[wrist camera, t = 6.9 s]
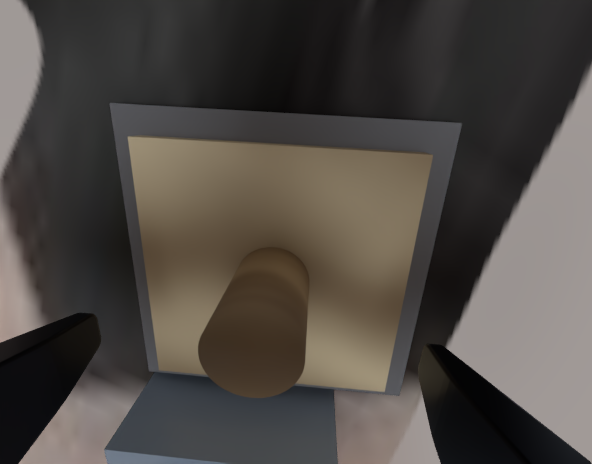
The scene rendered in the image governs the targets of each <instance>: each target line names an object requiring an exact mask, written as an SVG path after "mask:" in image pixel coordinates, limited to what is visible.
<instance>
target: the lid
mask: <svg viewBox="0 0 592 464" xmlns="http://www.w3.org/2000/svg"><path fill="white" fill-rule="evenodd" d="M128 143H129V151H130V158H131V166H132V173H133V181H134V188H135V195H136V203H137V210H138V218H139V225H140V233H141V240H142V248H143V255H144V262H145V270H146V277H147V285H148V292H149V300H150V307H151V315H152V322H153V329H154V337H155V344H156V352H157V359H158V367H159V370H162V371H172V372H183V373H193V374H203V375H208V376H209V378H210V379H211V380H212V381H213V382H215V383H216V384H217V385H218V386H220V387H221V388H223V389H225V390H227V391H229V392H231V393H233V394H236V395H239V396H243V397H249V398H266V397H271V396H275V395H278V394H281V393H283V392H285V391H287V390H288V389H290V388H291V387H292V386H293V385H294V384H295V383H296V384H307V385H317V386H327V387H338V388H348V389H358V390H369V391H379V392H385V388H386V383H387V378H388V373H389V368H390V363H391V358H392V354H393V349H394V344H395V339H396V334H397V329H398V324H399V319H400V315H401V310H402V305H403V300H404V295H405V290H406V285H407V280H408V275H409V271H410V266H411V261H412V256H413V251H414V246H415V241H416V236H417V232H418V227H419V222H420V217H421V212H422V207H423V202H424V197H425V193H426V188H427V183H428V178H429V173H430V168H431V163H432V158H433V155H432V154H428V153H425V152H409V151H392V150H375V149H359V148H342V147H325V146H309V145H292V144H275V143H259V142H242V141H225V140H209V139H192V138H175V137H159V136H142V135H140V136H128Z"/></svg>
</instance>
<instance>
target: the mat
mask: <svg viewBox="0 0 592 464" xmlns="http://www.w3.org/2000/svg"><path fill="white" fill-rule="evenodd" d="M110 110H111V117H112V123H113V130H114V137H115V144H116V151H117V157H118V164H119V171H120V178H121V185H122V191H123V198H124V205H125V212H126V218H127V225H128V232H129V239H130V246H131V252H132V259H133V266H134V273H135V280H136V286H137V293H138V300H139V307H140V313H141V320H142V327H143V334H144V341H145V347H146V354H147V361H148V368H149V371H152V372H162V373H172V374H182V375H192V376H203V377H209V376H208V375H203V374H193V373H183V372H172V371H162V370H159V367H158V359H157V352H156V344H155V337H154V329H153V322H152V315H151V307H150V300H149V292H148V285H147V277H146V270H145V262H144V255H143V248H142V240H141V233H140V225H139V218H138V210H137V203H136V195H135V188H134V181H133V173H132V166H131V158H130V151H129V143H128V136H140V135H142V136H159V137H175V138H192V139H209V140H225V141H242V142H259V143H275V144H292V145H309V146H325V147H342V148H359V149H375V150H392V151H409V152H425V153H428V154H432V155H433V158H432V163H431V168H430V173H429V178H428V183H427V188H426V193H425V197H424V202H423V207H422V212H421V217H420V222H419V227H418V232H417V236H416V241H415V246H414V251H413V256H412V261H411V266H410V271H409V275H408V280H407V285H406V290H405V295H404V300H403V305H402V310H401V315H400V319H399V324H398V329H397V334H396V339H395V344H394V349H393V354H392V358H391V363H390V368H389V373H388V378H387V383H386V388H385V392H379V391H369V390H358V389H348V388H338V387H327V386H317V385H307V384H296V383H295V384H294V386H304V387H315V388H325V389H335V390H345V391H355V392H366V393H376V394H386V395H396V396H399V395H400V391H401V386H402V382H403V378H404V373H405V369H406V365H407V360H408V356H409V352H410V347H411V343H412V339H413V334H414V330H415V326H416V321H417V317H418V313H419V308H420V304H421V300H422V295H423V291H424V287H425V282H426V278H427V274H428V269H429V265H430V261H431V256H432V252H433V248H434V243H435V239H436V235H437V230H438V226H439V222H440V217H441V213H442V209H443V204H444V200H445V196H446V191H447V187H448V183H449V178H450V174H451V170H452V165H453V161H454V157H455V152H456V148H457V144H458V139H459V135H460V131H461V126H462V123H453V122H436V121H418V120H400V119H383V118H365V117H348V116H330V115H312V114H295V113H277V112H260V111H242V110H224V109H207V108H189V107H172V106H154V105H136V104H119V103H110Z"/></svg>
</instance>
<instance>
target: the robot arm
mask: <svg viewBox="0 0 592 464" xmlns="http://www.w3.org/2000/svg"><path fill="white" fill-rule="evenodd" d="M100 342H101V335H100V330H99V325H98V320H97V317H96V316H95V315H94V314H91V313H76V314H74V315H71V316H69V317H66V318H63V319H61V320H58V321H56V322H53V323H50V324H48V325H45V326H43V327H40V328H37V329H35V330H32V331H30V332H27V333H24V334H22V335H19V336H17V337H14V338H11V339H9V340H6V341H4V342H1V343H0V464H18V463H19V462H20V461H21V459H22V458H23V457H24V455H25V454H26V453H27V451H28V450H29V449H30V447H31V446H32V445H33V443H34V442H35V441H36V439H37V438H38V437H39V435H40V434H41V433H42V431H43V430H44V429H45V427H46V426H47V425H48V423H49V422H50V421H51V419H52V418H53V417H54V415H55V414H56V413H57V411H58V410H59V409H60V407H61V406H62V404H63V403H64V402H65V400H66V399H67V397H68V396H69V394H70V393H71V391H72V389H73V388H74V386H75V385H76V383H77V381H78V380H79V378H80V377H81V375H82V373H83V372H84V370H85V369H86V367H87V365H88V364H89V362H90V361H91V359H92V357H93V356H94V354H95V353H96V351H97V349H98V348H99V345H100ZM418 376H419V381H420V385H421V390H422V394H423V399H424V403H425V407H426V412H427V416H428V420H429V425H430V429H431V434H432V437H433V441H434V444H435V447H436V450H437V453H438V456H439V459H440V462H441V464H591V462H590V461H589V460H587V459H586V458H585V457H583V456H582V455H581V454H580V453H579V452H577V451H576V450H575V449H574V448H572V447H571V446H570V445H569V444H567V443H566V442H565V441H563V440H562V439H561V438H560V437H558V436H557V435H556V434H554V433H553V432H552V431H551V430H549V429H548V428H547V427H546V426H544V425H543V424H541V422H539V421H538V420H537V419H535V418H534V417H533V416H532V415H530V414H529V413H528V412H527V411H525V410H524V409H523V408H521V407H520V406H519V405H517V404H516V403H515V402H514V401H512V400H511V399H510V398H509V397H507V396H506V395H505V394H504V393H502V392H501V391H500V390H498V389H497V388H496V387H495V386H493V385H492V384H491V383H490V382H488V381H487V380H486V379H484V378H483V377H482V376H481V375H479V374H478V373H477V372H476V371H474V370H473V369H472V368H471V367H469V366H468V365H466V364H465V363H464V362H463V361H462V360H460V359H459V358H458V357H456V356H455V355H454V354H452V353H451V352H450V351H449V350H448V349H446V348H445V347H444V346H442V345H437V344H426V345H425V346H424V348H423V351H422V355H421V359H420V363H419V368H418Z"/></svg>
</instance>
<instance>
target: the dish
mask: <svg viewBox="0 0 592 464" xmlns="http://www.w3.org/2000/svg"><path fill="white" fill-rule="evenodd" d="M104 451H105V455H106V459H107V463H108V464H338V460H337V443H336V425H335V408H334V390H333V389H325V388H315V387H304V386H294V385H293V386H292V387H291V388H290V389H288V390H287V391H285V392H283V393H281V394H278V395H275V396H271V397H266V398H249V397H243V396H239V395H236V394H233V393H231V392H229V391H227V390H225V389H223V388H221V387H220V386H218V385H217V384H216V383H215V382H213V381H212V380H211V379H210V378H209V377H203V376H192V375H182V374H172V373H162V372H155V373H154V374H153V376H152V377H151V379H150V380H149V382H148V383H147V385H146V386H145V388H144V389H143V391H142V392H141V394H140V396H139V397H138V399H137V400H136V402H135V403H134V405H133V406H132V408H131V409H130V411H129V412H128V414H127V415H126V417H125V419H124V420H123V422H122V423H121V425H120V426H119V428H118V429H117V431H116V432H115V434H114V435H113V437H112V439H111V440H110V442H109V443H108V445H107V446H106V448H105V449H104Z"/></svg>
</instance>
